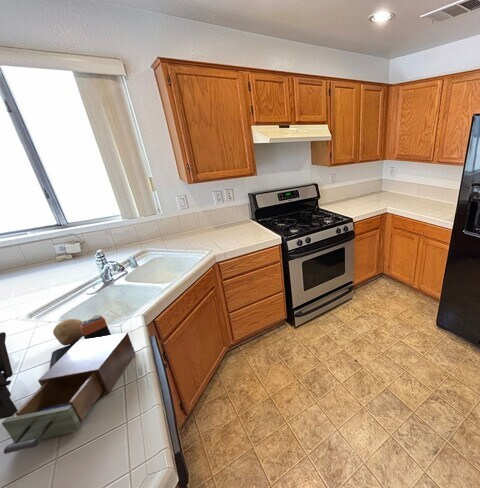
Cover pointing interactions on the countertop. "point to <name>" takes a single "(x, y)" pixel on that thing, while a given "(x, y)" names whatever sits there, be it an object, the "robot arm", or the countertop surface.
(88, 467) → the countertop surface
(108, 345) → the cabinet
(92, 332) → the battery
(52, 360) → the phone
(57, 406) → the navy blue eraser
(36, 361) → the countertop surface
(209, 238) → the countertop surface
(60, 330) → the natural sponge
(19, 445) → the drawer
